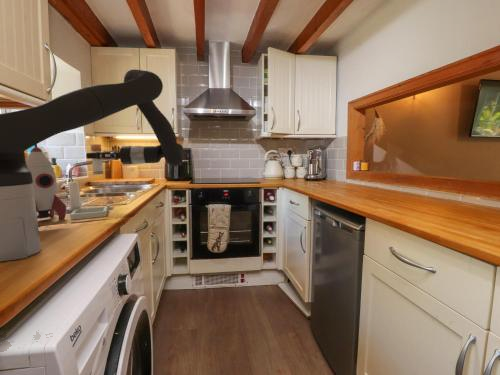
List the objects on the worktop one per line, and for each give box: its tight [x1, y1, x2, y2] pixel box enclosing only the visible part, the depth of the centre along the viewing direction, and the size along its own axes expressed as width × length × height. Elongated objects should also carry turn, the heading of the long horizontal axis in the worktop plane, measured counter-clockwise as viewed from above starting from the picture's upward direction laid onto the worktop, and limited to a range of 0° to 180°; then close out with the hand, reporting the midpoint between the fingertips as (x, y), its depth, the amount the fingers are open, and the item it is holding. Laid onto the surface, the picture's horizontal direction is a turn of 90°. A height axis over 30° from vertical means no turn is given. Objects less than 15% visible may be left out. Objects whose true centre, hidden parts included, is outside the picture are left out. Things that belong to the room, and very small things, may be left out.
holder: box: [37, 204, 115, 216], centre depth 109 cm, size 7×27×3 cm, turn 114°
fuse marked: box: [90, 143, 104, 175], centre depth 110 cm, size 4×4×12 cm
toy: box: [25, 144, 67, 220], centre depth 94 cm, size 11×11×30 cm
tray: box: [69, 205, 109, 225], centre depth 103 cm, size 11×11×3 cm
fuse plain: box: [67, 181, 82, 213], centre depth 108 cm, size 4×4×12 cm
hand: (89, 155), depth 109 cm, fingers closed on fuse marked, 3 cm apart
